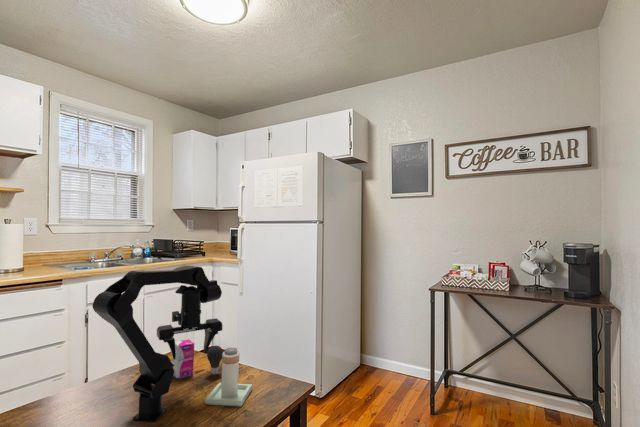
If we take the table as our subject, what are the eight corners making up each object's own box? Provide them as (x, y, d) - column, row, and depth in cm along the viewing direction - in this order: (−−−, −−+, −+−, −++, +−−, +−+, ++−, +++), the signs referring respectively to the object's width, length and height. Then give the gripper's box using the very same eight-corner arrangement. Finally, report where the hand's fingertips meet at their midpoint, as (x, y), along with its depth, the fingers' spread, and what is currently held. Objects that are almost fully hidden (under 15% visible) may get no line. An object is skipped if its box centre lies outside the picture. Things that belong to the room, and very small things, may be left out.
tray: (241, 406, 102) (241, 401, 102) (205, 404, 103) (205, 398, 103) (251, 389, 112) (252, 384, 113) (219, 387, 114) (219, 382, 114)
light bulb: (220, 377, 121) (220, 348, 121) (204, 377, 121) (205, 348, 121) (224, 371, 126) (225, 343, 127) (209, 370, 126) (210, 343, 127)
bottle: (235, 399, 105) (237, 352, 105) (218, 399, 105) (220, 352, 105) (239, 391, 110) (241, 347, 111) (223, 390, 110) (225, 346, 111)
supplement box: (176, 380, 118) (177, 346, 119) (171, 374, 123) (172, 341, 123) (193, 375, 122) (194, 342, 123) (187, 370, 127) (189, 338, 127)
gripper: (213, 298, 121) (212, 343, 120) (154, 304, 110) (153, 353, 110) (223, 304, 111) (222, 353, 111) (160, 312, 101) (158, 366, 101)
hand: (189, 356), depth 108 cm, fingers open, 9 cm apart
